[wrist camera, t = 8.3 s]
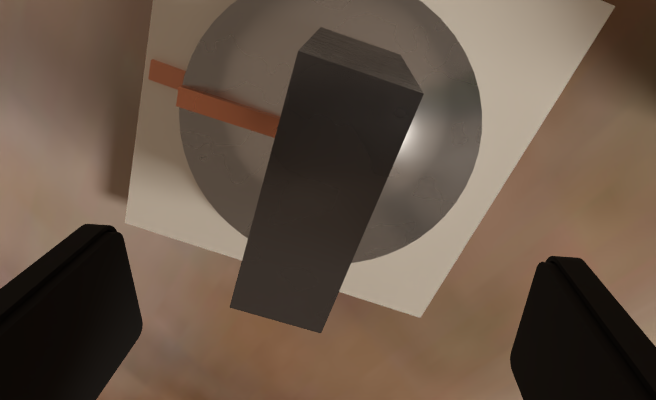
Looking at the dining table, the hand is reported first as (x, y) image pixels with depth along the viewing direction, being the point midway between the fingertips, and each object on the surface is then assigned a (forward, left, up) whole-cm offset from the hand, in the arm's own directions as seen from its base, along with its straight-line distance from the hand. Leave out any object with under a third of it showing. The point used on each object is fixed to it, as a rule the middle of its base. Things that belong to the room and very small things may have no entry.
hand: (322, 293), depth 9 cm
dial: (+1, +1, -9) cm, 9 cm away
